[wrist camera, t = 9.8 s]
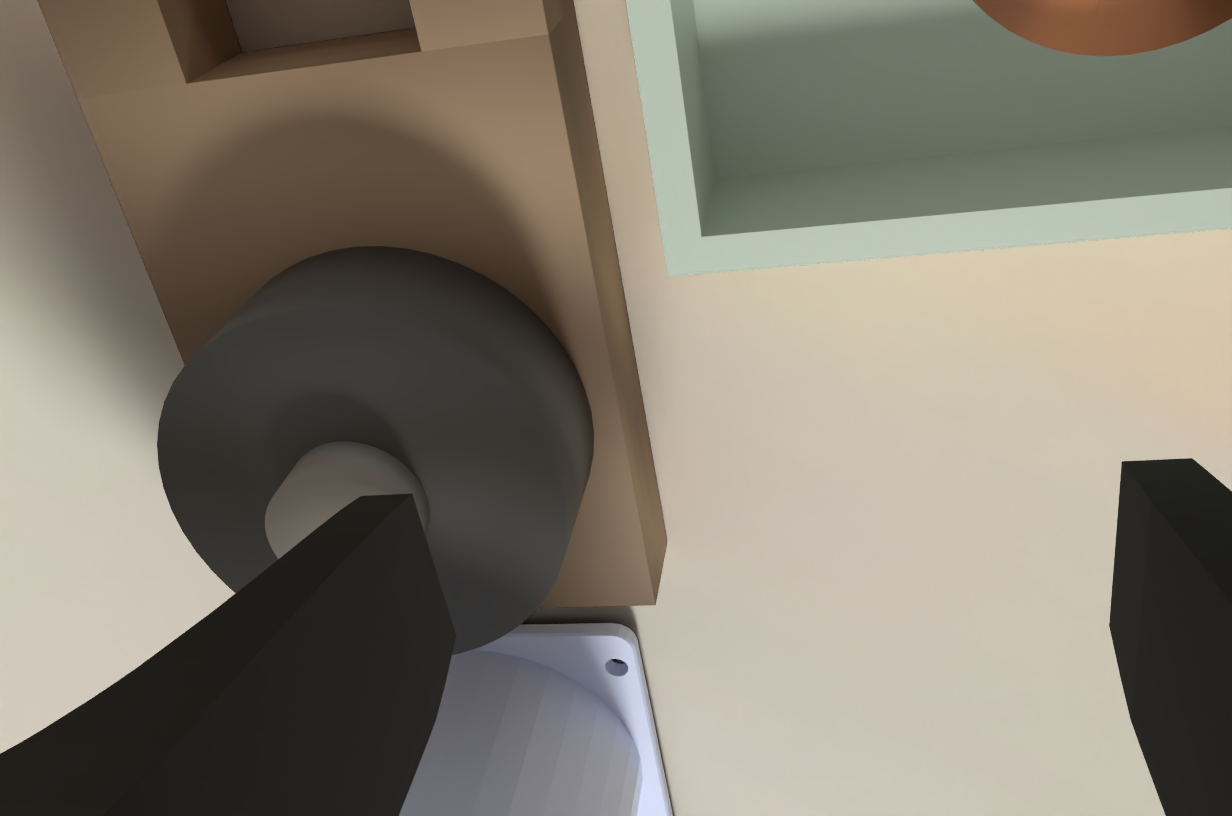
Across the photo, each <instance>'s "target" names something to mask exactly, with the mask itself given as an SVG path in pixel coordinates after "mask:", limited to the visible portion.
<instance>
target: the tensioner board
mask: <svg viewBox="0 0 1232 816" xmlns="http://www.w3.org/2000/svg"><path fill="white" fill-rule="evenodd" d="M409 2H410V6H411V10H412V15H413V19H414V23H415V27H416V28H412V29H404V30H397V31H390V32H383V33H376V34H369V35H362V36H355V37H348V38H341V39H334V40H327V41H320V42H313V43H306V44H299V45H292V46H285V47H277V48H270V49H263V50H256V51H249V52H242V53H241V50H240V46H239V43H238V40H237V37H236V34H235V31H234V28H233V25H232V22H231V19H230V16H229V12H228V9H227V6H226V3H225V0H38V3H39V5H40V8H41V10H42V13H43V15H44V18H45V20H46V23H47V25H48V28H49V30H50V33H51V35H52V37H53V40H54V42H55V45H56V47H57V50H58V52H59V55H60V57H61V60H62V62H63V65H64V67H65V70H66V72H67V75H68V77H69V80H70V82H71V84H72V87H73V89H74V92H75V94H76V97H77V99H78V102H79V104H80V107H81V109H82V112H83V114H84V117H85V119H86V122H87V124H88V127H89V129H90V131H91V134H92V136H93V139H94V141H95V144H96V146H97V149H98V151H99V154H100V156H101V159H102V161H103V164H104V166H105V169H106V171H107V174H108V176H109V179H110V181H111V183H112V186H113V188H114V191H115V193H116V196H117V198H118V201H119V203H120V206H121V208H122V211H123V213H124V216H125V218H126V221H127V223H128V226H129V228H130V230H131V233H132V235H133V238H134V240H135V243H136V245H137V248H138V250H139V253H140V255H141V258H142V260H143V263H144V265H145V268H146V270H147V273H148V275H149V277H150V280H151V282H152V285H153V287H154V290H155V292H156V295H157V297H158V300H159V302H160V305H161V307H162V310H163V312H164V315H165V317H166V320H167V322H168V325H169V327H170V329H171V332H172V334H173V337H174V339H175V342H176V344H177V347H178V349H179V352H180V354H181V357H182V359H183V362H184V364H185V366H184V368H183V369H182V371H181V372H180V374H179V375H178V376H177V378H176V379H175V381H174V382H173V384H172V386H171V389H170V391H169V393H168V395H167V397H166V400H165V402H164V405H163V409H162V413H161V417H160V421H159V429H158V441H157V448H158V461H159V469H160V474H161V478H162V483H163V487H164V490H165V493H166V496H167V498H168V501H169V504H170V507H171V509H172V512H173V513H174V515H175V517H176V519H177V521H178V523H179V525H180V527H181V529H182V531H183V533H184V534H185V536H186V537H187V538H188V540H189V541H190V543H191V544H192V546H193V547H194V549H195V550H196V552H197V553H198V554H199V555H200V557H201V558H202V559H203V560H204V561H205V563H206V564H207V565H208V566H209V567H210V569H211V570H212V571H213V572H214V573H215V574H216V575H217V576H218V577H219V578H220V579H221V580H222V581H223V582H224V583H225V584H226V585H227V586H228V587H229V588H230V589H232V590H233V591H234V592H235V593H237V592H238V591H239V590H241V589H242V588H243V587H244V586H246V585H247V584H248V583H249V582H251V581H252V580H253V579H254V578H256V577H257V576H258V575H259V574H261V573H262V572H263V571H264V570H266V569H267V568H268V567H269V566H271V565H272V564H273V563H274V562H276V561H277V560H278V559H279V558H281V557H282V556H283V555H284V554H286V553H287V552H288V551H289V550H290V549H292V548H293V547H294V546H295V545H297V544H298V543H299V542H300V541H302V540H303V539H304V538H305V537H307V536H308V535H309V534H310V533H312V532H313V531H314V530H315V529H317V528H318V527H319V526H320V525H322V524H323V523H324V522H325V521H327V520H328V519H329V518H331V517H332V516H333V515H335V514H336V513H337V512H339V511H340V510H341V509H343V508H344V507H345V506H347V505H348V504H350V503H351V502H353V501H354V500H356V499H357V498H359V497H360V496H369V495H391V494H413V497H414V500H415V504H416V507H417V510H418V513H419V517H420V520H421V523H422V526H423V530H424V533H425V536H426V539H427V543H428V546H429V549H430V552H431V556H432V559H433V562H434V565H435V568H436V572H437V575H438V578H439V581H440V585H441V588H442V591H443V594H444V598H445V601H446V604H447V607H448V611H449V614H450V617H451V620H452V624H453V627H454V630H455V633H456V639H455V644H454V648H453V653H452V655H455V654H460V653H463V652H466V651H470V650H473V649H476V648H480V647H482V646H484V645H486V644H489V643H491V642H493V641H495V640H497V639H500V638H501V637H503V636H504V635H506V634H507V633H509V632H511V631H512V630H514V629H515V628H517V627H518V626H519V625H520V624H522V623H523V622H524V621H525V620H526V619H527V618H528V617H529V616H531V615H532V614H533V613H534V612H535V610H536V609H537V608H541V607H589V606H638V605H656V600H657V594H658V589H659V584H660V578H661V573H662V568H663V563H664V557H665V552H666V547H667V537H666V532H665V526H664V520H663V514H662V509H661V503H660V497H659V491H658V486H657V480H656V474H655V469H654V463H653V457H652V451H651V446H650V440H649V434H648V428H647V423H646V417H645V411H644V405H643V400H642V394H641V388H640V382H639V377H638V371H637V365H636V359H635V354H634V348H633V342H632V337H631V331H630V325H629V319H628V314H627V308H626V302H625V296H624V291H623V285H622V279H621V273H620V268H619V262H618V256H617V250H616V245H615V239H614V233H613V227H612V222H611V216H610V210H609V204H608V199H607V193H606V187H605V182H604V176H603V170H602V164H601V159H600V153H599V147H598V141H597V136H596V130H595V124H594V118H593V113H592V107H591V101H590V95H589V90H588V84H587V78H586V72H585V67H584V61H583V55H582V50H581V44H580V38H579V32H578V27H577V21H576V15H575V9H574V4H573V0H409Z"/></svg>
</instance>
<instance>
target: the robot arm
mask: <svg viewBox="0 0 1232 816" xmlns="http://www.w3.org/2000/svg"><path fill="white" fill-rule="evenodd" d="M1109 626H1110V631H1111V635H1112V640H1113V645H1114V649H1115V654H1116V658H1117V663H1118V667H1119V672H1120V677H1121V681H1122V685H1123V689H1124V693H1125V698H1126V702H1127V706H1128V710H1129V714H1130V719H1131V722H1132V724H1133V727H1134V730H1135V733H1136V736H1137V739H1138V741H1139V744H1140V747H1141V750H1142V752H1143V755H1144V758H1145V760H1146V763H1147V766H1148V769H1149V771H1150V774H1151V777H1152V780H1153V782H1154V785H1155V788H1156V790H1157V793H1158V796H1159V799H1160V801H1161V804H1162V807H1163V809H1164V812H1165V815H1166V816H1232V492H1231V491H1230V490H1229V489H1228V488H1227V487H1226V486H1224V485H1223V484H1222V483H1221V482H1220V481H1219V480H1217V479H1216V478H1215V477H1214V476H1213V475H1212V474H1210V473H1209V472H1208V471H1207V470H1206V469H1204V468H1203V467H1202V466H1201V465H1199V464H1198V463H1197V462H1196V461H1195V460H1193V459H1192V458H1190V459H1168V460H1146V461H1124V462H1122V468H1121V481H1120V494H1119V507H1118V520H1117V533H1116V546H1115V559H1114V572H1113V585H1112V598H1111V611H1110V624H1109ZM455 639H456V633H455V630H454V627H453V624H452V620H451V617H450V614H449V611H448V607H447V604H446V601H445V598H444V594H443V591H442V588H441V585H440V581H439V578H438V575H437V572H436V568H435V565H434V562H433V559H432V556H431V552H430V549H429V546H428V543H427V539H426V536H425V533H424V530H423V526H422V523H421V520H420V517H419V513H418V510H417V507H416V504H415V500H414V497H413V494H391V495H369V496H360V497H359V498H357V499H356V500H354V501H353V502H351V503H350V504H348V505H347V506H345V507H344V508H343V509H341V510H340V511H339V512H337V513H336V514H335V515H333V516H332V517H331V518H329V519H328V520H327V521H325V522H324V523H323V524H322V525H320V526H319V527H318V528H317V529H315V530H314V531H313V532H312V533H310V534H309V535H308V536H307V537H305V538H304V539H303V540H302V541H300V542H299V543H298V544H297V545H295V546H294V547H293V548H292V549H290V550H289V551H288V552H287V553H286V554H284V555H283V556H282V557H281V558H279V559H278V560H277V561H276V562H274V563H273V564H272V565H271V566H269V567H268V568H267V569H266V570H264V571H263V572H262V573H261V574H259V575H258V576H257V577H256V578H254V579H253V580H252V581H251V582H249V583H248V584H247V585H246V586H244V587H243V588H242V589H241V590H239V591H238V592H237V593H236V594H234V595H233V596H232V597H231V598H229V599H228V600H227V601H226V602H224V603H223V604H222V605H221V606H219V607H218V608H217V609H216V610H214V611H213V612H212V613H210V614H209V615H208V616H206V617H205V618H204V619H202V620H201V621H199V622H198V623H197V624H195V625H194V626H193V627H191V628H190V629H189V630H187V631H186V632H185V633H183V634H182V635H181V636H179V637H178V638H177V639H175V640H174V641H173V642H171V643H170V644H169V645H167V646H166V647H164V648H163V649H162V650H160V651H159V652H158V653H156V654H155V655H154V656H152V657H151V658H150V659H148V660H147V661H146V662H144V663H143V664H142V665H140V666H139V667H138V668H136V669H135V670H133V671H132V672H130V673H129V674H127V675H126V676H125V677H123V678H122V679H120V680H119V681H117V682H116V683H114V684H113V685H111V686H110V687H108V688H107V689H105V690H104V691H102V692H101V693H99V694H98V695H96V696H95V697H93V698H92V699H90V700H89V701H87V702H86V703H84V704H82V705H81V706H79V707H78V708H76V709H74V710H73V711H71V712H70V713H68V714H67V715H65V716H63V717H62V718H60V719H59V720H57V721H55V722H54V723H52V724H51V725H49V726H47V727H46V728H44V729H43V730H41V731H39V732H38V733H36V734H34V735H33V736H31V737H29V738H28V739H26V740H24V741H23V742H21V743H19V744H17V745H15V746H14V747H12V748H10V749H8V750H6V751H5V752H3V753H1V754H0V816H673V814H672V809H671V804H670V799H669V794H668V789H667V784H666V779H665V774H664V769H663V764H662V759H661V754H660V749H659V744H658V739H657V734H656V729H655V724H654V720H653V715H652V710H651V705H650V700H649V695H648V690H647V685H646V680H645V675H644V670H643V665H642V660H641V655H640V650H639V645H638V640H637V638H636V636H635V634H634V632H632V631H631V630H630V629H629V628H628V627H626V626H623V625H621V624H615V623H588V624H530V625H519V626H518V627H517V628H515V629H514V630H512V631H511V632H509V633H507V634H506V635H504V636H503V637H501V638H500V639H497V640H495V641H493V642H491V643H489V644H486V645H484V646H482V647H480V648H476V649H473V650H470V651H466V652H463V653H460V654H455V655H452V653H453V648H454V644H455ZM611 659H619V660H622V661H623V662H625V663H623V664H619V663H615V662H613V661H612V660H611Z"/></svg>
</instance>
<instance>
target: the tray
mask: <svg viewBox="0 0 1232 816" xmlns="http://www.w3.org/2000/svg"><path fill="white" fill-rule="evenodd" d="M626 6H627V13H628V19H629V26H630V32H631V39H632V45H633V52H634V59H635V65H636V72H637V78H638V85H639V92H640V98H641V105H642V111H643V118H644V125H645V131H646V138H647V144H648V151H649V158H650V164H651V171H652V177H653V184H654V191H655V197H656V204H657V210H658V217H659V224H660V230H661V237H662V243H663V250H664V257H665V263H666V270H667V276H668V277H673V276H685V275H696V274H708V273H720V272H731V271H743V270H755V269H766V268H778V267H790V266H801V265H813V264H825V263H837V262H848V261H860V260H872V259H883V258H895V257H907V256H918V255H930V254H942V253H953V252H965V251H977V250H989V249H1000V248H1012V247H1024V246H1035V245H1047V244H1059V243H1070V242H1082V241H1094V240H1105V239H1117V238H1129V237H1141V236H1152V235H1164V234H1176V233H1187V232H1199V231H1211V230H1222V229H1232V18H1231V19H1230V20H1228V21H1226V22H1224V23H1222V24H1221V25H1219V26H1217V27H1215V28H1214V29H1212V30H1210V31H1207V32H1205V33H1203V34H1200V35H1198V36H1196V37H1193V38H1191V39H1189V40H1186V41H1184V42H1181V43H1178V44H1174V45H1171V46H1168V47H1164V48H1161V49H1158V50H1153V51H1147V52H1142V53H1136V54H1131V55H1117V56H1091V55H1077V54H1072V53H1067V52H1062V51H1057V50H1053V49H1050V48H1047V47H1044V46H1041V45H1038V44H1036V43H1033V42H1030V41H1028V40H1026V39H1024V38H1022V37H1020V36H1018V35H1016V34H1014V33H1013V32H1011V31H1009V30H1007V29H1006V28H1004V27H1003V26H1002V25H1000V24H999V23H997V22H996V21H995V20H993V19H992V18H991V17H989V16H988V15H987V14H986V13H985V12H984V11H983V10H982V9H981V8H980V7H979V6H978V5H977V4H976V3H975V2H974V1H973V0H626Z"/></svg>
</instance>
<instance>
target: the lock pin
mask: <svg viewBox="0 0 1232 816" xmlns="http://www.w3.org/2000/svg"><path fill="white" fill-rule="evenodd" d="M973 1H974V2H975V3H976V4H977V5H978V6H979V7H980V8H981V9H982V10H983V11H984V12H985V13H986V14H987V15H988V16H989V17H991V18H992V19H993V20H995V21H996V22H997V23H999V24H1000V25H1002V26H1003V27H1004V28H1006V29H1007V30H1009V31H1011V32H1013V33H1014V34H1016V35H1018V36H1020V37H1022V38H1024V39H1026V40H1028V41H1030V42H1033V43H1036V44H1038V45H1041V46H1044V47H1047V48H1050V49H1053V50H1057V51H1062V52H1067V53H1072V54H1077V55H1091V56H1117V55H1131V54H1136V53H1142V52H1147V51H1153V50H1158V49H1161V48H1164V47H1168V46H1171V45H1174V44H1178V43H1181V42H1184V41H1186V40H1189V39H1191V38H1193V37H1196V36H1198V35H1200V34H1203V33H1205V32H1207V31H1210V30H1212V29H1214V28H1215V27H1217V26H1219V25H1221V24H1222V23H1224V22H1226V21H1228V20H1230V19H1231V18H1232V0H973Z"/></svg>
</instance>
